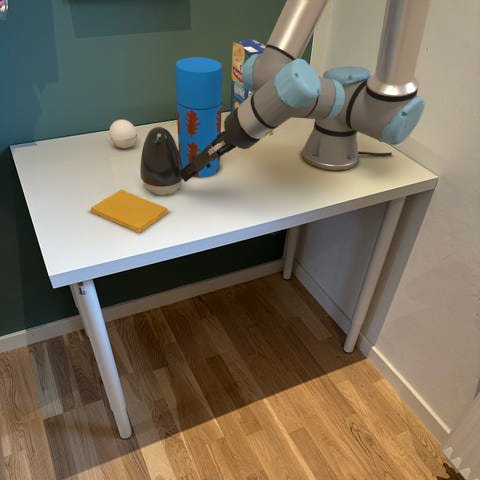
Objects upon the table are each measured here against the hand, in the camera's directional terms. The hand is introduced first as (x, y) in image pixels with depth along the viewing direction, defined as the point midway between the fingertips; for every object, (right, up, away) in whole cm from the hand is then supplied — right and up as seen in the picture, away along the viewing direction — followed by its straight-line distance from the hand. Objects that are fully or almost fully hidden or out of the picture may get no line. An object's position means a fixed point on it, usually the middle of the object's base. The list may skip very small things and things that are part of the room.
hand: (183, 176), depth 110 cm
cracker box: (+16, +26, +35) cm, 47 cm away
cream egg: (-18, +15, +21) cm, 31 cm away
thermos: (+3, +7, +15) cm, 16 cm away
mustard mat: (-12, -9, -2) cm, 15 cm away
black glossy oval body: (-6, -2, +6) cm, 8 cm away
